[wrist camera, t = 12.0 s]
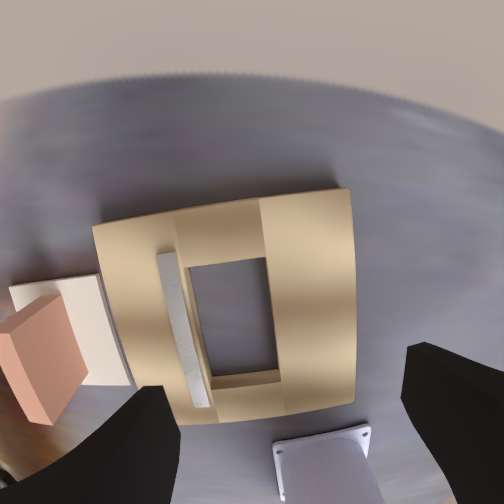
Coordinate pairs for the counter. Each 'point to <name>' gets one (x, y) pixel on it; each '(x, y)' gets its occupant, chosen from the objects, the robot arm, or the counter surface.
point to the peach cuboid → (41, 358)
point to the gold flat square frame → (281, 296)
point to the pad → (84, 324)
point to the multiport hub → (6, 479)
